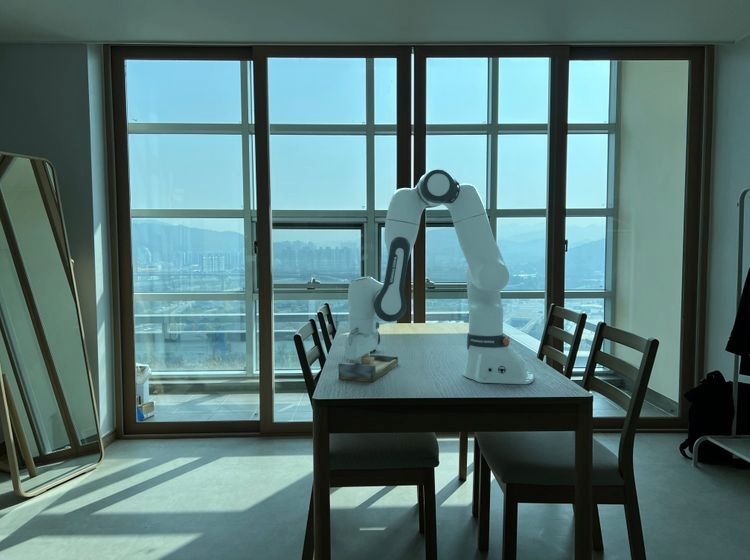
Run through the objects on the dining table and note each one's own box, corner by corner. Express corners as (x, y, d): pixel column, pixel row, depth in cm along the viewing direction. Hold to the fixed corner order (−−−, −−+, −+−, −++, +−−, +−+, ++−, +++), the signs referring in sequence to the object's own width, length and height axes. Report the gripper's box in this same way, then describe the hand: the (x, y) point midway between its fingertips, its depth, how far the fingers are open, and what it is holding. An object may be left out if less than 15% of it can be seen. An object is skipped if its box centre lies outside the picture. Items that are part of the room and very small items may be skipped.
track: (398, 364, 188) (398, 350, 188) (373, 382, 164) (373, 366, 163) (367, 361, 192) (367, 348, 192) (338, 378, 168) (338, 363, 167)
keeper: (374, 372, 172) (374, 357, 171) (370, 374, 168) (370, 359, 167) (354, 370, 174) (354, 355, 174) (350, 373, 170) (350, 358, 170)
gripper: (358, 331, 159) (358, 376, 160) (381, 322, 178) (381, 361, 179) (339, 330, 161) (340, 374, 162) (364, 321, 180) (364, 360, 181)
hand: (362, 367), depth 171 cm, fingers closed on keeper, 4 cm apart
